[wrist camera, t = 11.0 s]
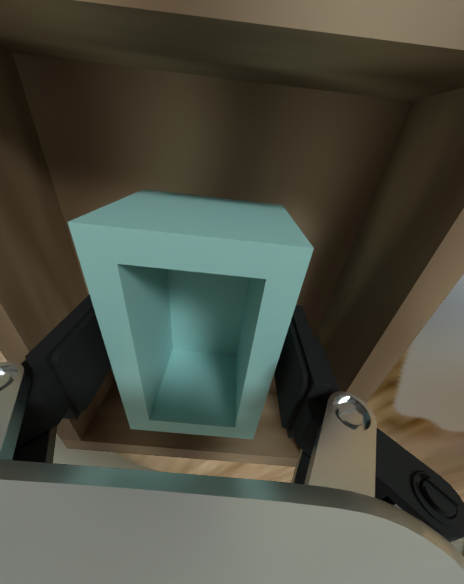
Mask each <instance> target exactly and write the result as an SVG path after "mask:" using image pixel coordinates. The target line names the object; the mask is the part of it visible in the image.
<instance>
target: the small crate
mask: <svg viewBox="0 0 464 584" xmlns="http://www.w3.org/2000/svg"><path fill="white" fill-rule="evenodd" d="M68 225H69V229H70V232H71V235H72V238H73V242H74V245H75V248H76V252H77V255H78V258H79V261H80V265H81V268H82V271H83V275H84V278H85V281H86V284H87V288H88V291H89V294H90V298H91V301H92V304H93V307H94V311H95V314H96V317H97V321H98V324H99V327H100V330H101V334H102V337H103V340H104V344H105V347H106V350H107V353H108V357H109V360H110V363H111V367H112V370H113V373H114V376H115V380H116V383H117V386H118V390H119V393H120V396H121V399H122V403H123V406H124V409H125V413H126V416H127V419H128V422H129V426H130V429H136V430H148V431H159V432H171V433H183V434H195V435H207V436H219V437H230V438H242V439H254V436H255V432H256V429H257V426H258V423H259V420H260V417H261V413H262V410H263V407H264V404H265V401H266V398H267V394H268V391H269V388H270V385H271V382H272V379H273V376H274V372H275V369H276V366H277V363H278V360H279V357H280V353H281V350H282V347H283V344H284V341H285V338H286V335H287V331H288V328H289V325H290V322H291V319H292V316H293V312H294V309H295V306H296V303H297V300H298V297H299V294H300V290H301V287H302V284H303V281H304V278H305V275H306V271H307V268H308V265H309V262H310V259H311V256H312V253H313V249H314V248H313V246H312V245H311V244H310V242H309V241H308V239H307V238H306V237H305V235H304V234H303V233H302V231H301V230H300V228H299V227H298V226H297V224H296V223H295V221H294V220H293V219H292V217H291V216H290V215H289V213H288V212H287V210H286V209H285V208H284V206H283V205H281V204H272V203H263V202H254V201H245V200H236V199H227V198H218V197H209V196H200V195H191V194H182V193H173V192H164V191H155V190H146V189H143V190H141V191H139V192H136V193H134V194H132V195H129V196H127V197H125V198H122V199H120V200H118V201H115V202H113V203H111V204H108V205H106V206H104V207H101V208H99V209H97V210H94V211H92V212H90V213H87V214H85V215H83V216H80V217H78V218H76V219H73V220H71V221H69V222H68Z"/></svg>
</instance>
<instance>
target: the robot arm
mask: <svg viewBox="0 0 464 584" xmlns="http://www.w3.org/2000/svg"><path fill="white" fill-rule="evenodd" d="M25 358H26V359H25V360H24V361H23V362H22V363H21V364H20V363H18V362H10V361H9V362H2V363H0V584H464V503H463V501H462V500H461V498H460V496H459V495H458V494H457V492H456V491H455V490H454V489H453V488H452V487H451V485H450V484H449V483H447V482H446V481H445V480H444V479H443V478H442V477H441V476H439V475H438V474H437V473H435V472H434V471H433V470H432V469H430V468H429V467H428V466H426V465H425V464H424V463H422V462H421V461H420V460H418V459H417V458H416V457H415V456H413V455H412V454H411V453H409V452H408V451H407V450H405V449H404V448H403V447H401V446H400V445H399V444H398V443H396V442H395V441H394V440H392V439H391V438H390V437H388V436H387V435H386V434H384V433H383V432H382V431H381V430H379V429H378V428H377V424H376V418H375V416H374V414H373V412H372V410H371V409H370V408H369V406H368V405H367V404H366V403H365V402H364V401H363V400H362V399H360V398H359V397H357V396H355V395H354V394H351V393H348V392H343V391H341V390H340V387H339V385H338V382H337V380H336V377H335V375H334V373H333V370H332V368H331V365H330V363H329V360H328V358H327V356H326V353H325V351H324V348H323V346H322V343H321V341H320V339H319V337H318V336H313V334H312V331H311V328H310V326H309V323H308V321H307V318H306V315H305V313H304V310H303V308H302V306H301V305H296V306H295V309H294V312H293V316H292V319H291V322H290V325H289V328H288V331H287V335H286V338H285V341H284V344H283V347H282V350H281V353H280V357H279V360H278V363H277V366H276V369H275V372H274V376H275V383H276V390H277V397H278V404H279V411H280V417H281V424H282V427H283V428H286V429H287V435H288V438H296V443H297V445H298V446H299V447H300V448H301V450H300V454H299V457H298V461H297V464H296V468H295V471H294V475H293V478H292V482H291V483H285V482H275V481H264V480H252V479H240V478H229V477H217V476H205V475H193V474H181V473H169V472H156V471H144V470H131V469H119V468H106V467H93V466H80V465H67V464H53V456H54V448H55V439H56V432H57V425H58V424H59V423H60V421H61V420H62V418H63V419H75V420H77V419H78V417H79V415H80V414H81V412H82V411H85V410H86V409H87V408H88V407H89V405H90V403H91V402H92V400H93V398H94V396H95V395H96V393H97V391H98V390H99V388H100V386H101V385H102V383H103V381H104V379H105V378H106V376H107V374H108V373H109V371H110V369H111V368H112V367H111V363H110V360H109V357H108V353H107V350H106V347H105V344H104V340H103V337H102V334H101V330H100V327H99V324H98V321H97V317H96V314H95V311H94V307H93V304H92V301H91V298H90V294H89V295H88V296H87V297H86V298H85V299H84V300H83V301H82V302H81V303H80V304H79V305H78V306H77V307H76V308H75V309H74V310H73V311H72V312H70V313H69V314H68V315H67V316H66V317H65V318H64V319H63V320H62V321H61V322H60V323H59V324H58V325H57V326H56V327H55V328H54V329H53V330H52V331H51V332H50V333H49V334H48V335H47V336H46V337H45V338H44V339H43V340H41V341H40V342H39V343H38V344H37V345H36V346H35V347H34V348H33V349H32V350H31V351H30V352H29V353H28V354H27V355H26V356H25Z"/></svg>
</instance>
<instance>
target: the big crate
mask: <svg viewBox="0 0 464 584" xmlns="http://www.w3.org/2000/svg"><path fill="white" fill-rule="evenodd" d="M143 189H146V190H155V191H164V192H173V193H182V194H191V195H200V196H209V197H218V198H227V199H236V200H245V201H254V202H263V203H272V204H281V205H283V206H284V208H285V209H286V210H287V212H288V213H289V215H290V216H291V217H292V219H293V220H294V221H295V223H296V224H297V226H298V227H299V228H300V230H301V231H302V233H303V234H304V235H305V237H306V238H307V239H308V241H309V242H310V244H311V245H312V246H313V248H314V249H313V253H312V256H311V259H310V262H309V265H308V268H307V271H306V275H305V278H304V281H303V284H302V287H301V290H300V294H299V297H298V300H297V303H296V305H301V306H302V308H303V310H304V313H305V315H306V318H307V321H308V323H309V326H310V328H311V331H312V334H313V336H318V337H319V339H320V341H321V343H322V346H323V348H324V351H325V353H326V356H327V358H328V360H329V363H330V365H331V368H332V370H333V373H334V375H335V377H336V380H337V382H338V385H339V387H340V390H341V391H343V392H348V393H351V394H354V395H355V396H357V397H359V398H360V399H362V400H363V401H364V402H365V403H366V402H367V401H368V400H369V398H370V397H371V396H372V394H373V393H374V392H375V391H376V389H377V388H378V387H379V385H380V384H381V383H382V381H383V380H384V379H385V377H386V376H387V375H388V373H389V372H390V371H391V369H392V368H393V367H394V365H395V364H396V363H397V361H398V360H399V359H400V357H401V356H402V355H403V353H404V352H405V351H406V349H407V348H408V347H409V346H410V344H411V343H412V342H413V340H414V339H415V338H416V336H417V335H418V334H419V332H420V331H421V330H422V328H423V327H424V326H425V324H426V323H427V322H428V320H429V319H430V318H431V316H432V315H433V314H434V312H435V311H436V309H437V308H438V307H439V306H440V304H441V303H442V302H443V300H444V299H445V298H446V297H447V295H448V294H449V293H450V291H451V290H452V289H453V287H454V286H455V284H456V283H457V282H458V281H459V279H460V278H461V277H462V275H463V274H464V0H0V351H1V352H2V354H3V355H4V357H5V358H6V360H7V361H8V362H9V361H10V362H18V363H20V364H21V363H22V362H23V361H24V360H25V359H26V358H25V356H26V355H27V354H28V353H29V352H30V351H31V350H32V349H33V348H34V347H35V346H36V345H37V344H38V343H39V342H40V341H41V340H43V339H44V338H45V337H46V336H47V335H48V334H49V333H50V332H51V331H52V330H53V329H54V328H55V327H56V326H57V325H58V324H59V323H60V322H61V321H62V320H63V319H64V318H65V317H66V316H67V315H68V314H69V313H70V312H72V311H73V310H74V309H75V308H76V307H77V306H78V305H79V304H80V303H81V302H82V301H83V300H84V299H85V298H86V297H87V296H88V295H89V291H88V288H87V284H86V281H85V278H84V275H83V271H82V268H81V265H80V261H79V258H78V255H77V252H76V248H75V245H74V242H73V238H72V235H71V232H70V229H69V225H68V222H69V221H71V220H73V219H76V218H78V217H80V216H83V215H85V214H87V213H90V212H92V211H94V210H97V209H99V208H101V207H104V206H106V205H108V204H111V203H113V202H115V201H118V200H120V199H122V198H125V197H127V196H129V195H132V194H134V193H136V192H139V191H141V190H143ZM56 433H57V434H58V435H59V437H60V438H61V440H62V441H63V443H64V444H65V446H66V447H67V448H70V449H83V450H96V451H108V452H119V453H132V454H144V455H156V456H169V457H181V458H193V459H206V460H218V461H230V462H243V463H255V464H267V465H279V466H292V467H296V464H297V461H298V457H299V454H300V450H301V448H300V447H299V446H298V445H297V443H296V438H288V435H287V429H286V428H283V427H282V424H281V417H280V411H279V404H278V397H277V390H276V383H275V376H273V379H272V382H271V385H270V388H269V391H268V394H267V398H266V401H265V404H264V407H263V410H262V413H261V417H260V420H259V423H258V426H257V429H256V432H255V436H254V439H242V438H230V437H219V436H207V435H195V434H183V433H171V432H159V431H148V430H136V429H130V426H129V422H128V419H127V416H126V413H125V409H124V406H123V403H122V399H121V396H120V393H119V390H118V386H117V383H116V380H115V376H114V373H113V370H112V368H111V369H110V371H109V373H108V374H107V376H106V378H105V379H104V381H103V383H102V385H101V386H100V388H99V390H98V391H97V393H96V395H95V396H94V398H93V400H92V402H91V403H90V405H89V407H88V408H87V409H86V410H85V411H82V412H81V414H80V415H79V417H78V419H77V420H75V419H63V418H62V420H61V421H60V423H59V424H58V425H57V432H56Z"/></svg>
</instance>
